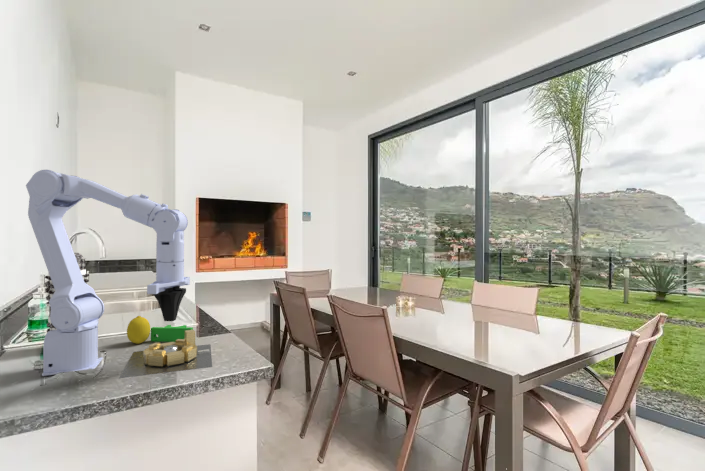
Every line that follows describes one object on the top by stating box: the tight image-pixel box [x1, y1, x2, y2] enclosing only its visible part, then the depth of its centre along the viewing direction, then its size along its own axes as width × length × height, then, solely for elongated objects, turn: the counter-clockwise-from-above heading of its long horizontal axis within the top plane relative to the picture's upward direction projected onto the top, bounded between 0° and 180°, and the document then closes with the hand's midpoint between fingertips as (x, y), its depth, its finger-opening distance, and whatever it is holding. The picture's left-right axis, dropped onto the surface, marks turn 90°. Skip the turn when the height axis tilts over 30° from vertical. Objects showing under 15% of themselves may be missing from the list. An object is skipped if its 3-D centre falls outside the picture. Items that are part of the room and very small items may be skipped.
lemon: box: [126, 315, 151, 345], centre depth 101 cm, size 6×6×8 cm
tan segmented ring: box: [142, 329, 198, 366], centre depth 88 cm, size 11×11×6 cm
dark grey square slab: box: [118, 343, 213, 379], centre depth 88 cm, size 18×18×3 cm
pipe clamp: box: [150, 324, 194, 343], centre depth 104 cm, size 11×4×5 cm, turn 89°
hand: (170, 320), depth 86 cm, fingers closed
